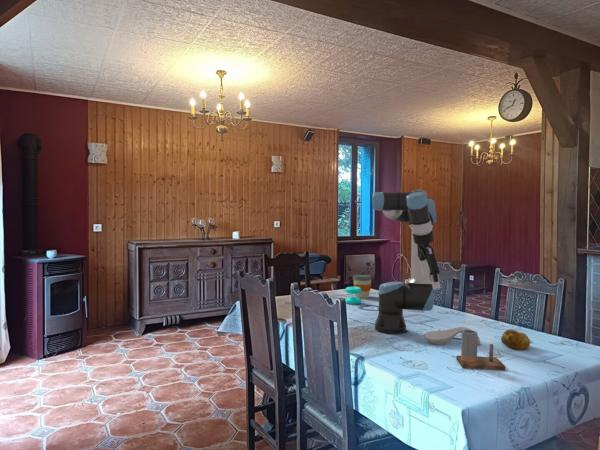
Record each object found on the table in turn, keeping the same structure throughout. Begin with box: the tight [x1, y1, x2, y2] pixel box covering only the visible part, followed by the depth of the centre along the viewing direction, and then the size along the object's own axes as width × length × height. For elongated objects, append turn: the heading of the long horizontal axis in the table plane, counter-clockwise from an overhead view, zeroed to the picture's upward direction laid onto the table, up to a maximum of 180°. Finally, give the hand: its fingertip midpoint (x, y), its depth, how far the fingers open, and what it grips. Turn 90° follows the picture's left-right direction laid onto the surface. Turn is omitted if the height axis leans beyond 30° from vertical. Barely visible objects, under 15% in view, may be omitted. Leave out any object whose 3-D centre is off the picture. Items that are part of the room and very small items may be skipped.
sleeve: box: [460, 329, 478, 363], centre depth 162 cm, size 5×5×11 cm
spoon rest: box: [423, 326, 481, 346], centre depth 189 cm, size 24×12×7 cm, turn 86°
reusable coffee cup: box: [352, 273, 373, 300], centre depth 291 cm, size 13×13×15 cm
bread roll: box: [500, 328, 531, 351], centre depth 185 cm, size 13×10×8 cm
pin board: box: [456, 343, 507, 371], centre depth 162 cm, size 15×10×8 cm, turn 83°
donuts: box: [345, 286, 362, 305], centre depth 272 cm, size 10×10×10 cm
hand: (431, 281), depth 170 cm, fingers open, 13 cm apart
